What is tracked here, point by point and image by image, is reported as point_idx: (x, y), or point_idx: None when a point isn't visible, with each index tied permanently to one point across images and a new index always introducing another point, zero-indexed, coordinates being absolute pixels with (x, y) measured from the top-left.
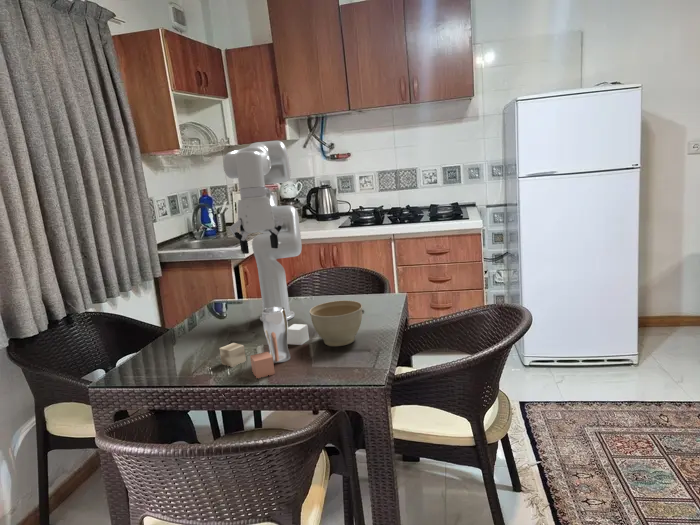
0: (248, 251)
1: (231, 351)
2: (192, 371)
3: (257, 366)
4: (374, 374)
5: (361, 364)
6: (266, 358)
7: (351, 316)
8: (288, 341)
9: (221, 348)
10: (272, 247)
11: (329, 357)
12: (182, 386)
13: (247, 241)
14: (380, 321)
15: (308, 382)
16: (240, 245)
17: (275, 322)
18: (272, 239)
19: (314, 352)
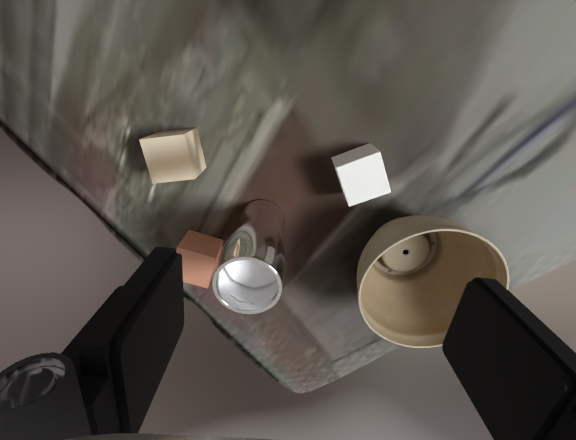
0: (175, 337)
1: (158, 182)
2: (86, 111)
3: None
4: (314, 375)
5: (332, 344)
6: (194, 284)
7: (408, 339)
8: (333, 163)
9: (142, 146)
10: (462, 301)
11: (325, 288)
12: (52, 172)
13: (138, 431)
14: (557, 230)
15: (235, 329)
16: (90, 323)
17: (235, 293)
18: (504, 387)
19: (327, 249)
